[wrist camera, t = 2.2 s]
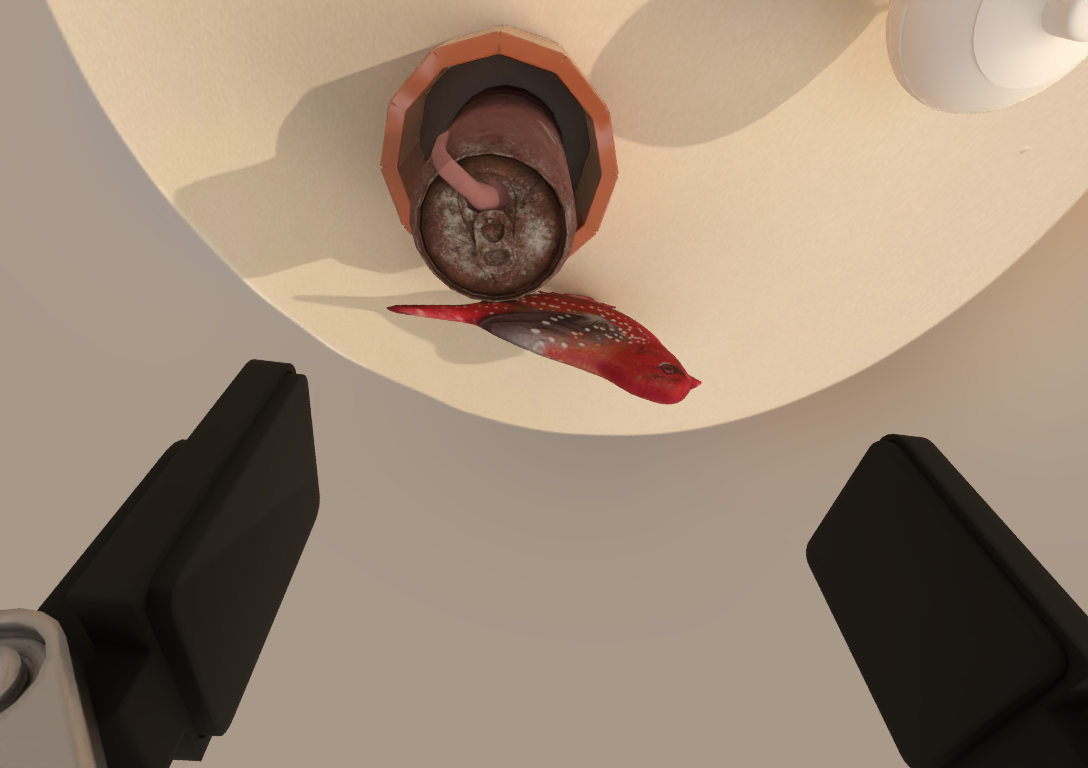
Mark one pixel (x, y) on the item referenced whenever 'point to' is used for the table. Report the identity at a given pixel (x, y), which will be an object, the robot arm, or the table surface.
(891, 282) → the table surface
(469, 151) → the can
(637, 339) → the decorative bird figurine
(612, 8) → the table surface
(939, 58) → the spinning top
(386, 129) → the pot
